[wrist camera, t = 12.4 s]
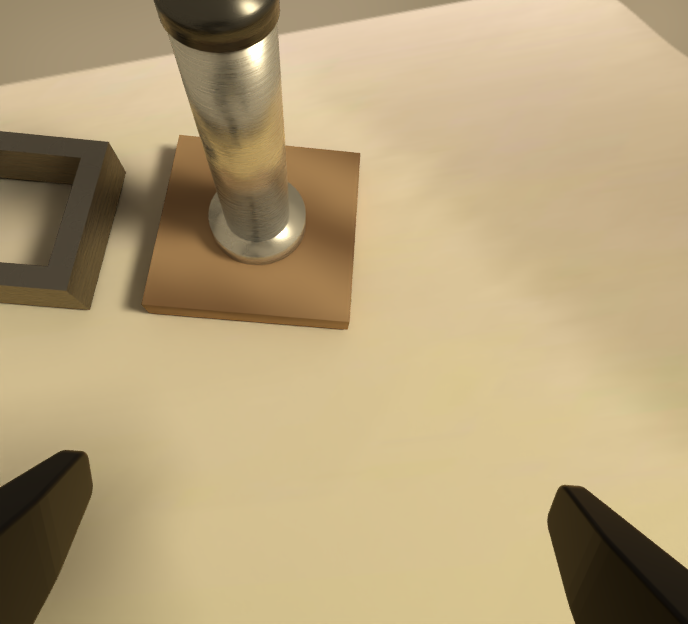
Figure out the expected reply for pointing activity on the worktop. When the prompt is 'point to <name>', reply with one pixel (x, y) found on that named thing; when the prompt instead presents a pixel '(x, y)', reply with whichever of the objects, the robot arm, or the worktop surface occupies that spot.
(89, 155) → the holder
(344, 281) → the walnut pad
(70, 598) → the worktop surface
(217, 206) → the capped metal cylinder
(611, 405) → the worktop surface
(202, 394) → the worktop surface
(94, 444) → the worktop surface
